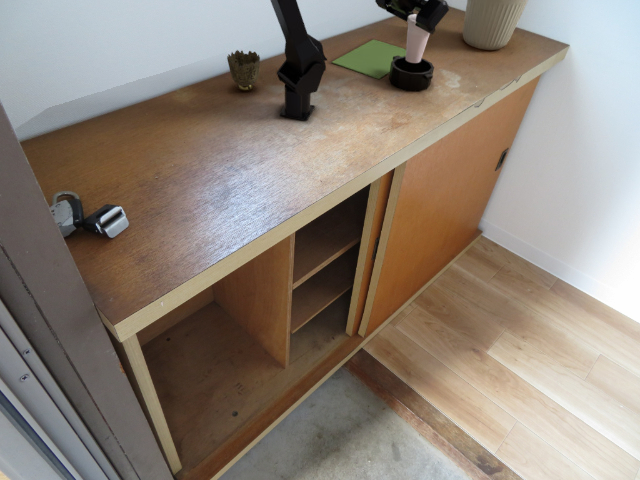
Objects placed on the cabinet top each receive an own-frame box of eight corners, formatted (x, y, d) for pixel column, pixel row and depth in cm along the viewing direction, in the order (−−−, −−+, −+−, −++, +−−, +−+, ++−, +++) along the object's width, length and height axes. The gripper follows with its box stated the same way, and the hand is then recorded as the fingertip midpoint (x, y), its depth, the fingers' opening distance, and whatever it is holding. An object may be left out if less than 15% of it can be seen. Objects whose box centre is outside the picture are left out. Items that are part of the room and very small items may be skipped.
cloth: (379, 79, 113) (379, 78, 113) (331, 63, 119) (331, 61, 119) (418, 54, 126) (418, 52, 126) (373, 40, 132) (373, 39, 132)
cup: (264, 83, 108) (262, 51, 103) (258, 97, 103) (256, 64, 98) (234, 81, 109) (231, 48, 103) (227, 95, 104) (223, 61, 98)
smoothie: (395, 55, 110) (406, -6, 101) (418, 54, 112) (431, -7, 102) (406, 66, 106) (419, 2, 96) (430, 64, 108) (445, 1, 98)
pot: (410, 97, 107) (414, 79, 104) (377, 75, 115) (379, 58, 112) (441, 88, 111) (446, 71, 108) (407, 68, 119) (411, 51, 116)
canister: (452, 50, 129) (473, -32, 114) (454, 29, 142) (473, -47, 127) (516, 59, 127) (546, -23, 112) (511, 37, 139) (538, -40, 124)
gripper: (455, -44, 85) (477, 11, 97) (393, -64, 96) (420, -13, 108) (416, 6, 87) (442, 53, 100) (360, -20, 98) (390, 25, 110)
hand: (423, 27), depth 104 cm, fingers closed on smoothie, 6 cm apart
